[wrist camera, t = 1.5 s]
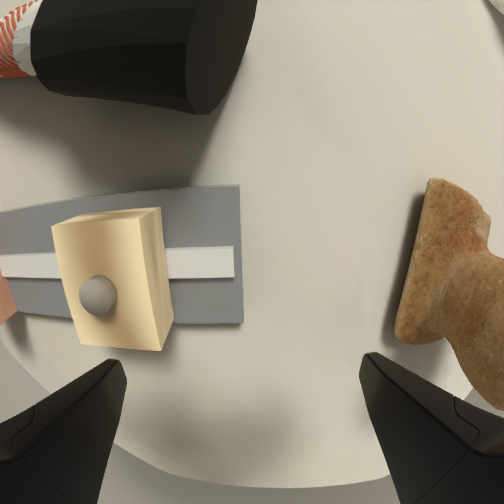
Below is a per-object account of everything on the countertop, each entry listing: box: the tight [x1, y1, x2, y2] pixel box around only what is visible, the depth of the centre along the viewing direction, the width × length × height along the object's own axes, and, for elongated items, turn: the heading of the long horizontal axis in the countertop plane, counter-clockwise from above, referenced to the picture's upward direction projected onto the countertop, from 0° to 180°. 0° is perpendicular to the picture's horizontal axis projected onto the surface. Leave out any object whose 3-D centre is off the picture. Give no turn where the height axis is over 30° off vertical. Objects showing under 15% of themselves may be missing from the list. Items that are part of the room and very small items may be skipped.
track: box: [0, 185, 244, 325], centre depth 17 cm, size 26×10×6 cm, turn 91°
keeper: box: [51, 207, 174, 351], centre depth 16 cm, size 6×8×5 cm
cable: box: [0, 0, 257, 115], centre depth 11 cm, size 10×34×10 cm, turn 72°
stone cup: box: [394, 178, 504, 411], centre depth 15 cm, size 15×12×15 cm
